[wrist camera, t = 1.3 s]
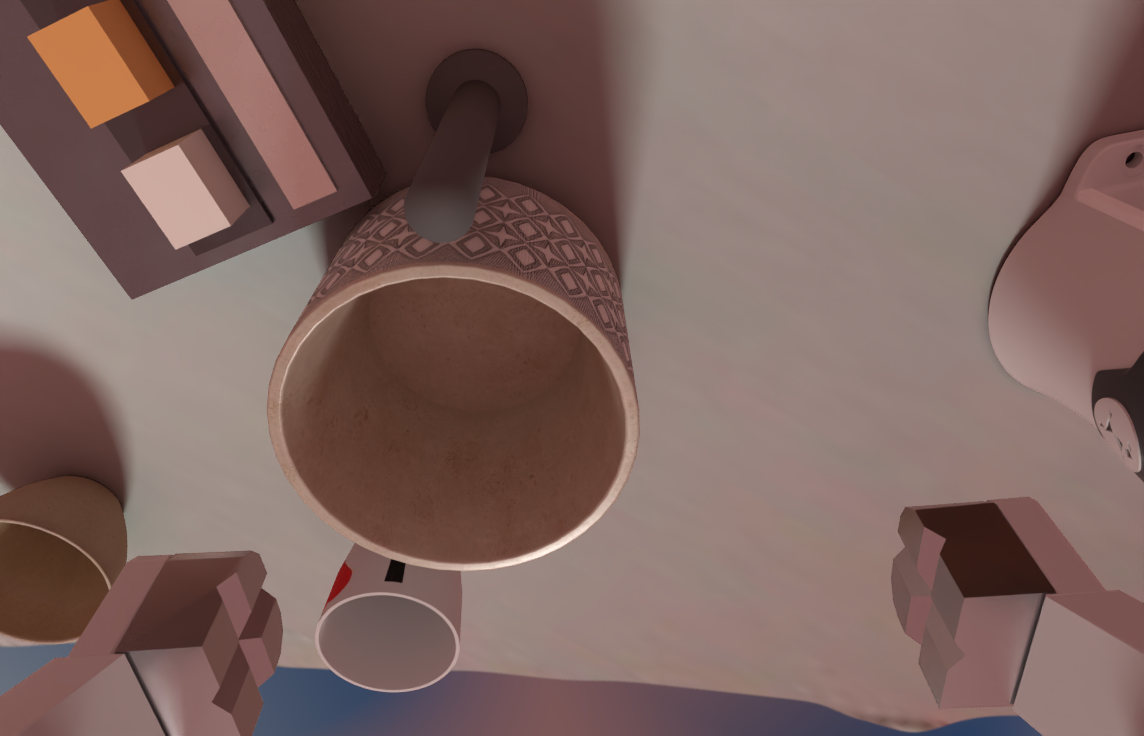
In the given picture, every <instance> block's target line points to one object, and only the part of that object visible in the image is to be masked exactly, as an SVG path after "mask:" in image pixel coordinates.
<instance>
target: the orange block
mask: <svg viewBox="0 0 1144 736" xmlns="http://www.w3.org/2000/svg"><path fill="white" fill-rule="evenodd" d="M27 38H28V39H29V41H30V42H31V43H32V45H33V46H34V48H35V49H36V51H37V52H38V53H39V55H40V56H41V58H42V59H43V61H44V62H45V63H46V65H47V66H48V68H49V69H50V71H51V72H52V73H53V75H54V76H55V78H56V79H57V81H58V82H59V84H60V85H61V86H62V88H63V89H64V91H65V92H66V94H67V95H68V96H69V98H70V99H71V101H72V102H73V104H74V105H75V106H76V108H77V109H78V111H79V112H80V114H81V115H82V116H83V118H84V119H85V121H86V122H87V124H88V125H89V126H90V128H93V127H95V126H98V125H100V124H102V123H104V122H106V121H108V120H110V119H113V118H115V117H117V116H119V115H121V114H123V113H125V112H127V111H130V110H132V109H134V108H136V107H138V106H140V105H142V104H144V103H147V102H149V101H151V100H152V99H154V98H156V97H158V96H160V95H161V94H163V93H165V92H167V91H169V90H170V89H172V88H174V85H173V83H172V82H171V80H170V79H169V77H168V76H167V74H166V72H165V71H164V69H163V68H162V66H161V64H160V63H159V61H158V60H157V58H156V57H155V55H154V53H153V52H152V50H151V49H150V47H149V45H148V44H147V42H146V41H145V39H144V38H143V36H142V34H141V33H140V31H139V30H138V28H137V26H136V25H135V23H134V22H133V20H132V19H131V17H130V15H129V14H128V12H127V11H126V9H125V7H124V6H123V4H122V3H121V1H120V0H108V1H104V2H101V3H97V4H93V5H90V6H87V7H85V8H83V9H81V10H79V11H77V12H75V13H73V14H71V15H69V16H67V17H65V18H63V19H61V20H59V21H57V22H55V23H53V24H51V25H49V26H47V27H45V28H43V29H41V30H39V31H37V32H35V33H33V34H31V35H29V36H27Z"/></svg>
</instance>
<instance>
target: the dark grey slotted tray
mask: <svg viewBox="0 0 1144 736" xmlns="http://www.w3.org/2000/svg"><path fill="white" fill-rule="evenodd" d="M104 1H108V0H0V125H1V126H2V127H3V129H4V130H5V131H6V133H7V134H8V135H9V137H10V138H11V139H12V141H13V142H14V143H15V145H16V146H17V147H18V149H19V150H20V151H21V153H22V154H23V155H24V157H25V158H26V159H27V161H28V162H29V163H30V165H31V166H32V167H33V169H34V170H35V171H36V173H37V174H38V175H39V177H40V178H41V179H42V181H43V182H44V183H45V185H46V186H47V187H48V189H49V190H50V191H51V193H52V194H53V195H54V197H55V198H56V199H57V201H58V202H59V203H60V205H61V206H62V207H63V209H64V210H65V211H66V213H67V214H68V215H69V217H70V218H71V219H72V221H73V222H74V223H75V225H76V226H77V227H78V229H79V230H80V231H81V233H82V234H83V235H84V237H85V238H86V239H87V241H88V242H89V243H90V245H91V246H92V247H93V249H94V250H95V251H96V253H97V254H98V255H99V257H100V258H101V259H102V261H103V262H104V263H105V265H106V266H107V267H108V269H109V270H110V271H111V273H112V274H113V275H114V277H115V278H116V279H117V281H118V282H119V283H120V285H121V286H122V287H123V289H124V290H125V291H126V293H127V294H128V295H129V297H130V298H131V299H135V298H137V297H139V296H142V295H144V294H146V293H149V292H151V291H154V290H156V289H158V288H161V287H163V286H165V285H168V284H170V283H173V282H175V281H177V280H180V279H182V278H184V277H187V276H189V275H191V274H194V273H196V272H199V271H201V270H203V269H206V268H208V267H210V266H213V265H215V264H218V263H220V262H222V261H225V260H227V259H229V258H232V257H234V256H237V255H239V254H241V253H244V252H246V251H248V250H251V249H253V248H256V247H258V246H260V245H263V244H265V243H267V242H270V241H272V240H274V239H277V238H279V237H282V236H284V235H286V234H289V233H291V232H293V231H296V230H298V229H301V228H303V227H305V226H308V225H310V224H312V223H315V222H317V221H320V220H322V219H324V218H327V217H329V216H331V215H334V214H336V213H339V212H341V211H343V210H346V209H348V208H350V207H353V206H355V205H357V204H360V203H362V202H365V201H367V200H369V199H372V198H373V196H374V194H375V193H376V191H377V189H378V187H379V186H380V184H381V182H382V180H383V179H384V177H385V175H386V171H385V169H384V167H383V165H382V163H381V161H380V160H379V158H378V156H377V154H376V152H375V150H374V148H373V147H372V145H371V143H370V141H369V139H368V137H367V135H366V133H365V132H364V130H363V128H362V126H361V124H360V122H359V120H358V118H357V117H356V115H355V113H354V111H353V109H352V107H351V105H350V104H349V102H348V100H347V98H346V96H345V94H344V92H343V90H342V89H341V87H340V85H339V83H338V81H337V79H336V77H335V75H334V74H333V72H332V70H331V68H330V66H329V64H328V62H327V61H326V59H325V57H324V55H323V53H322V51H321V49H320V47H319V46H318V44H317V42H316V40H315V38H314V36H313V34H312V32H311V31H310V29H309V27H308V25H307V23H306V21H305V19H304V18H303V16H302V14H301V12H300V10H299V8H298V6H297V4H296V3H295V1H294V0H120V1H121V3H122V4H123V6H124V7H125V9H126V11H127V12H128V14H129V15H130V17H131V19H132V20H133V22H134V23H135V25H136V26H137V28H138V30H139V31H140V33H141V34H142V36H143V38H144V39H145V41H146V42H147V44H148V45H149V47H150V49H151V50H152V52H153V53H154V55H155V57H156V58H157V60H158V61H159V63H160V64H161V66H162V68H163V69H164V71H165V72H166V74H167V76H168V77H169V79H170V80H171V82H172V83H173V85H174V88H172V89H170V90H169V91H167V92H165V93H163V94H161V95H160V96H158V97H156V98H154V99H152V100H151V101H149V102H147V103H144V104H142V105H140V106H138V107H136V108H134V109H132V110H130V111H127V112H125V113H123V114H121V115H119V116H117V117H115V118H113V119H110V120H108V121H106V122H104V123H102V124H100V125H98V126H95V127H93V128H90V126H89V125H88V124H87V122H86V121H85V119H84V118H83V116H82V115H81V114H80V112H79V111H78V109H77V108H76V106H75V105H74V104H73V102H72V101H71V99H70V98H69V96H68V95H67V94H66V92H65V91H64V89H63V88H62V86H61V85H60V84H59V82H58V81H57V79H56V78H55V76H54V75H53V73H52V72H51V71H50V69H49V68H48V66H47V65H46V63H45V62H44V61H43V59H42V58H41V56H40V55H39V53H38V52H37V51H36V49H35V48H34V46H33V45H32V43H31V42H30V41H29V39H28V38H27V36H29V35H31V34H33V33H35V32H37V31H39V30H41V29H43V28H45V27H47V26H49V25H51V24H53V23H55V22H57V21H59V20H61V19H63V18H65V17H67V16H69V15H71V14H73V13H75V12H77V11H79V10H81V9H83V8H85V7H87V6H90V5H93V4H97V3H101V2H104ZM199 129H202V131H203V133H204V134H205V136H206V137H207V139H208V140H209V142H210V144H211V145H212V147H213V148H214V150H215V152H216V153H217V155H218V156H219V158H220V159H221V161H222V163H223V164H224V166H225V167H226V169H227V170H228V172H229V174H230V175H231V177H232V178H233V180H234V182H235V183H236V185H237V186H238V188H239V189H240V191H241V193H242V194H243V196H244V197H245V199H246V201H247V202H248V204H249V205H250V206H249V207H248V208H247V209H246V210H245V212H244V213H243V214H242V215H241V216H240V217H239V218H238V219H237V220H236V221H235V222H234V223H233V224H232V226H230V227H228V228H225V229H223V230H221V231H218V232H216V233H214V234H211V235H209V236H207V237H204V238H202V239H200V240H197V241H195V242H193V243H190V244H188V245H186V246H183V247H181V248H179V249H176V250H175V248H174V247H173V245H172V244H171V243H170V241H169V240H168V238H167V237H166V235H165V234H164V233H163V231H162V230H161V228H160V227H159V225H158V224H157V223H156V221H155V220H154V218H153V217H152V215H151V214H150V212H149V211H148V210H147V208H146V207H145V205H144V204H143V202H142V201H141V200H140V198H139V197H138V195H137V194H136V192H135V191H134V190H133V188H132V187H131V185H130V184H129V182H128V181H127V180H126V178H125V177H124V175H123V174H122V172H121V170H123V169H124V168H126V167H127V166H129V165H130V164H132V163H133V162H135V161H136V160H138V159H139V158H141V157H142V156H144V155H145V154H147V153H149V152H151V151H153V150H155V149H157V148H160V147H162V146H164V145H166V144H168V143H171V142H173V141H175V140H177V139H179V138H182V137H184V136H186V135H188V134H190V133H192V132H195V131H197V130H199Z"/></svg>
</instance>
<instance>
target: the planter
mask: <svg viewBox="0 0 1144 736" xmlns="http://www.w3.org/2000/svg"><path fill="white" fill-rule="evenodd" d="M409 188H410V187H408V188H406V189H403V190H401V191H398V192H396V193H395V194H393V195H392V196H390V197H388V198H387V199H385V200H383V201H382V202H380V203H379V204H377V205H376V206H375V207H374V208H373V209H371V210H370V211H369V212H368V213H367V214H366V215H365V216H364V217H362V218H361V219H360V220H359V222H358V223H357V224H356V225H355V227H354V228H353V229H352V231H351V232H350V233H349V234H348V236H347V237H346V239H345V240H344V242H343V244H342V245H341V247H340V249H339V251H338V252H337V254H336V256H335V257H334V259H333V261H332V263H331V264H330V266H329V268H328V269H327V271H326V273H325V275H324V276H323V278H322V280H321V281H320V283H319V285H318V287H317V288H316V290H315V292H314V293H313V295H312V297H311V299H310V300H309V302H308V304H307V305H306V307H305V309H304V311H303V312H302V314H301V316H300V317H299V319H298V321H297V323H296V324H295V326H294V328H293V329H292V331H291V333H290V335H289V336H288V338H287V340H286V342H285V344H284V346H283V348H282V350H281V352H280V354H279V355H278V357H277V359H276V362H275V365H274V369H273V372H272V376H271V379H270V383H269V391H268V402H267V415H268V424H269V433H270V437H271V440H272V444H273V447H274V450H275V454H276V457H277V459H278V461H279V463H280V465H281V467H282V469H283V471H284V473H285V475H286V477H287V479H288V481H289V482H290V483H291V485H292V486H293V488H294V489H295V490H296V492H297V493H298V495H299V496H300V497H301V499H302V500H303V501H304V502H305V503H306V504H307V505H308V506H309V507H310V508H311V509H312V510H313V511H314V512H315V513H316V514H317V515H318V517H319V518H321V519H322V520H323V521H324V522H326V523H327V524H328V525H330V526H331V527H332V528H333V529H335V530H336V531H337V532H339V533H340V534H341V535H343V536H345V537H346V538H348V539H350V540H352V541H353V542H355V543H357V544H358V545H360V546H362V547H364V548H366V549H368V550H371V551H373V552H375V553H378V554H380V555H382V556H384V557H387V558H390V559H393V560H397V561H400V562H403V563H407V564H410V565H414V566H420V567H426V568H431V569H437V570H452V571H477V570H492V569H497V568H503V567H508V566H514V565H518V564H521V563H524V562H528V561H531V560H534V559H537V558H540V557H542V556H545V555H547V554H549V553H551V552H553V551H555V550H558V549H560V548H562V547H564V546H565V545H567V544H568V543H570V542H571V541H573V540H575V539H576V538H578V537H579V536H581V535H582V534H584V533H585V532H586V531H587V530H588V529H589V528H591V527H592V526H593V525H594V524H595V523H596V522H597V521H598V520H600V519H601V518H602V517H603V515H604V514H605V513H606V512H607V511H608V509H609V508H610V507H611V506H612V504H613V503H614V502H615V501H616V500H617V498H618V496H619V494H620V493H621V491H622V489H623V487H624V486H625V484H626V482H627V480H628V478H629V475H630V472H631V470H632V467H633V464H634V461H635V458H636V454H637V448H638V441H639V435H640V427H639V407H638V400H637V393H636V387H635V380H634V374H633V367H632V361H631V354H630V347H629V341H628V334H627V328H626V321H625V314H624V308H623V301H622V296H621V291H620V287H619V282H618V278H617V275H616V273H615V271H614V268H613V266H612V263H611V261H610V258H609V256H608V255H607V253H606V252H605V250H604V248H603V247H602V245H601V244H600V242H599V240H598V239H597V238H596V236H595V235H594V234H593V233H592V232H591V231H590V230H589V228H588V227H587V226H586V225H585V224H584V223H583V222H582V221H581V220H580V219H579V218H578V217H577V216H575V215H574V214H573V213H572V212H571V211H569V210H568V209H567V208H566V207H565V206H563V205H562V204H560V203H558V202H557V201H555V200H553V199H552V198H550V197H548V196H547V195H545V194H543V193H542V192H539V191H537V190H534V189H532V188H529V187H527V186H524V185H522V184H519V183H516V182H511V181H507V180H503V179H499V178H495V177H484V180H483V184H482V188H481V192H480V196H479V200H478V204H477V208H476V212H475V217H474V220H473V223H472V225H471V227H470V229H469V230H468V232H467V233H466V234H465V235H463V236H462V237H461V238H459V239H457V240H455V241H452V242H448V243H436V242H432V241H428V240H426V239H424V238H422V237H421V236H419V235H418V234H417V233H416V232H415V231H413V229H412V228H411V227H410V225H409V224H408V222H407V220H406V217H405V213H404V200H405V197H406V194H407V192H408V190H409Z"/></svg>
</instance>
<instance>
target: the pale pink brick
mask: <svg viewBox="0 0 1144 736" xmlns="http://www.w3.org/2000/svg"><path fill="white" fill-rule="evenodd" d="M121 172H122V174H123V175H124V177H125V178H126V180H127V181H128V182H129V184H130V185H131V187H132V188H133V190H134V191H135V192H136V194H137V195H138V197H139V198H140V200H141V201H142V202H143V204H144V205H145V207H146V208H147V210H148V211H149V212H150V214H151V215H152V217H153V218H154V220H155V221H156V223H157V224H158V225H159V227H160V228H161V230H162V231H163V233H164V234H165V235H166V237H167V238H168V240H169V241H170V243H171V244H172V245H173V247H174V248H175V250H176V249H179V248H181V247H183V246H186V245H188V244H190V243H193V242H195V241H197V240H200V239H202V238H204V237H207V236H209V235H211V234H214V233H216V232H218V231H221V230H223V229H225V228H228V227H230V226H232V224H233V223H234V222H235V221H236V220H237V219H238V218H239V217H240V216H241V215H242V214H243V213H244V212H245V210H246V209H247V208H248V207H249V206H250V205H249V204H248V202H247V201H246V199H245V197H244V196H243V194H242V193H241V191H240V189H239V188H238V186H237V185H236V183H235V182H234V180H233V178H232V177H231V175H230V174H229V172H228V170H227V169H226V167H225V166H224V164H223V163H222V161H221V159H220V158H219V156H218V155H217V153H216V152H215V150H214V148H213V147H212V145H211V144H210V142H209V140H208V139H207V137H206V136H205V134H204V133H203V131H202V129H199V130H197V131H195V132H192V133H190V134H188V135H186V136H184V137H182V138H179V139H177V140H175V141H173V142H171V143H168V144H166V145H164V146H162V147H160V148H157V149H155V150H153V151H151V152H149V153H147V154H145V155H144V156H142V157H141V158H139V159H138V160H136V161H135V162H133V163H132V164H130V165H129V166H127V167H126V168H124V169H123V170H121Z"/></svg>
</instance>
